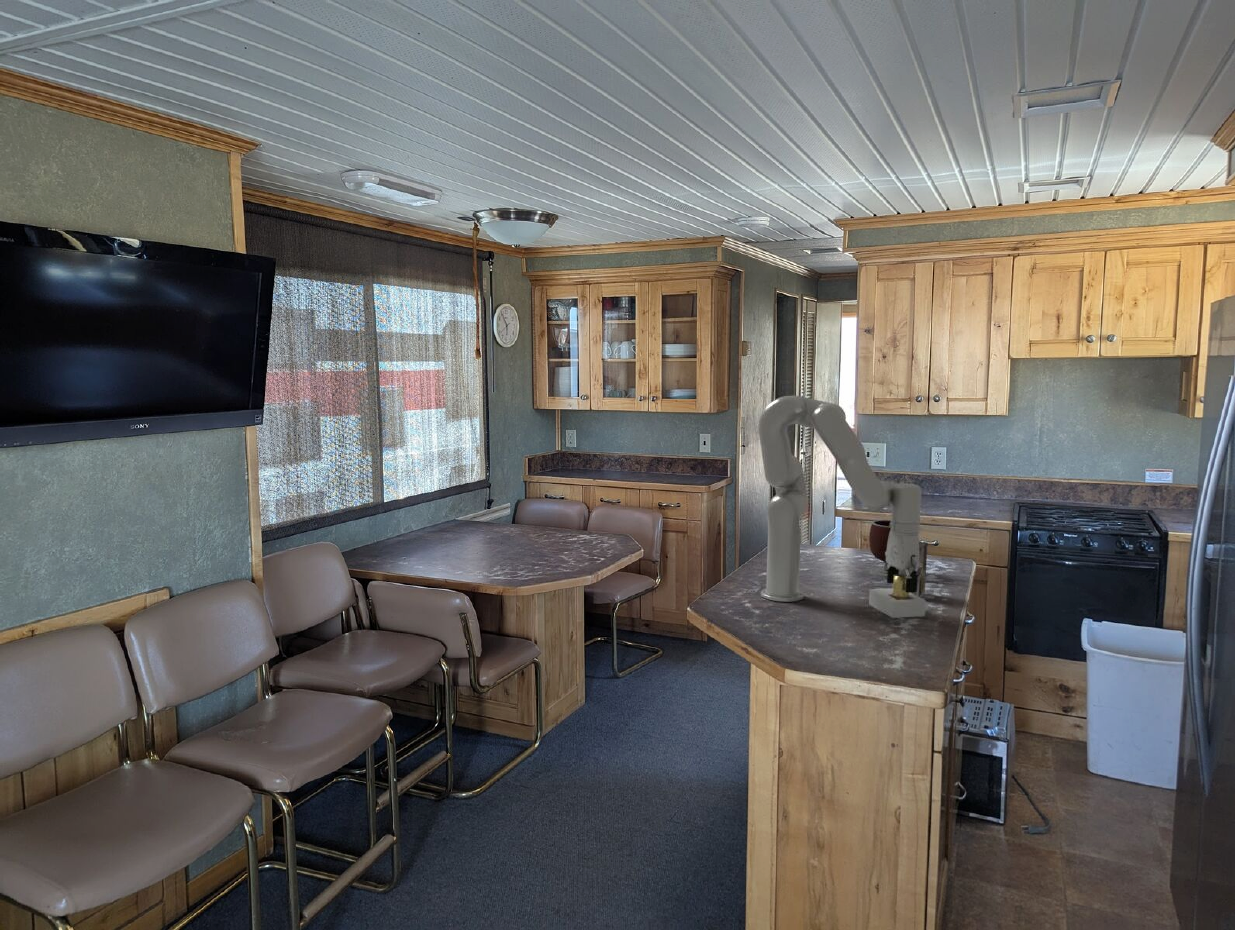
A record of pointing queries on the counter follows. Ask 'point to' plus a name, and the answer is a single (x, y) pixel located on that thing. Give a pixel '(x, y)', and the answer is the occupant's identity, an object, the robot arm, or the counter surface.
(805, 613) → the counter surface
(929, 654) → the counter surface
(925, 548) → the coffee box
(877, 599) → the block
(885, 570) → the dark red goblet
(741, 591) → the counter surface
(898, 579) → the cylinder
